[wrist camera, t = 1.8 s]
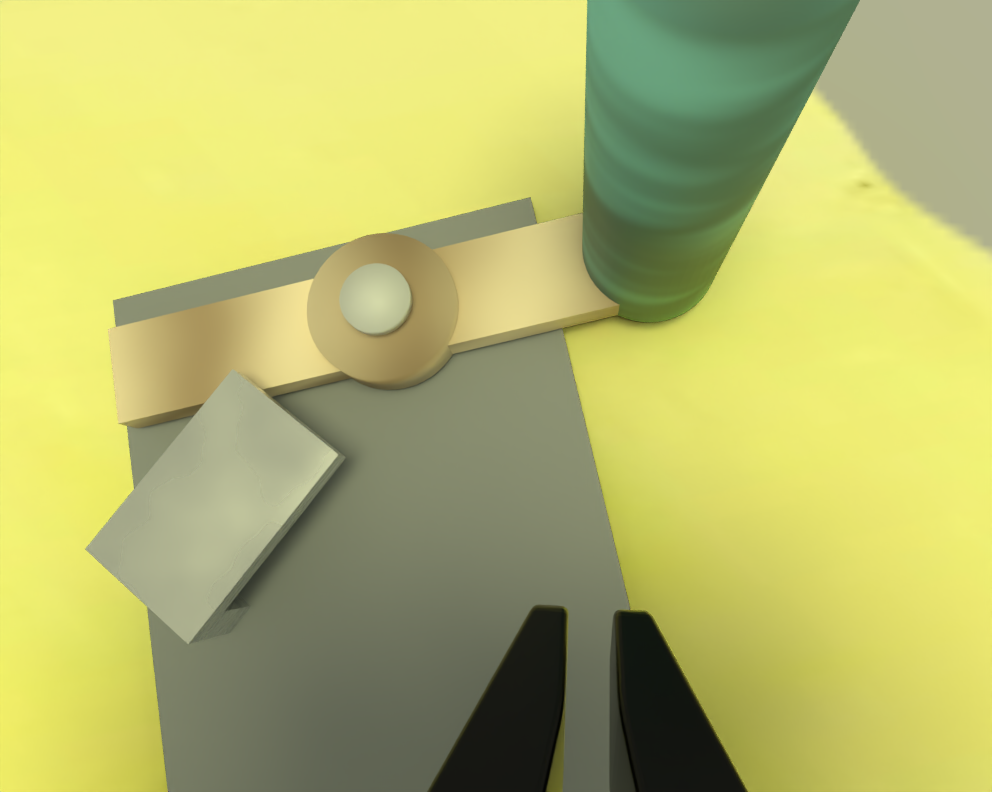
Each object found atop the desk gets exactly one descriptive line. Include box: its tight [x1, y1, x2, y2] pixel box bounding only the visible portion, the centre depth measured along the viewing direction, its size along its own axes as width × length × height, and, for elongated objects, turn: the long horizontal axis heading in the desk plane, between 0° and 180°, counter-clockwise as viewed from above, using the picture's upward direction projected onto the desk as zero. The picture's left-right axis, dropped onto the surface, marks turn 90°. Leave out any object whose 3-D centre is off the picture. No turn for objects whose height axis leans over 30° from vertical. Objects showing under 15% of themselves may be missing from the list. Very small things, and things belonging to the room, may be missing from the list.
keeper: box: [85, 369, 346, 644], centre depth 22 cm, size 6×4×2 cm, turn 142°
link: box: [108, 0, 860, 428], centre depth 17 cm, size 18×4×13 cm, turn 102°
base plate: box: [113, 197, 630, 792], centre depth 22 cm, size 18×14×3 cm
